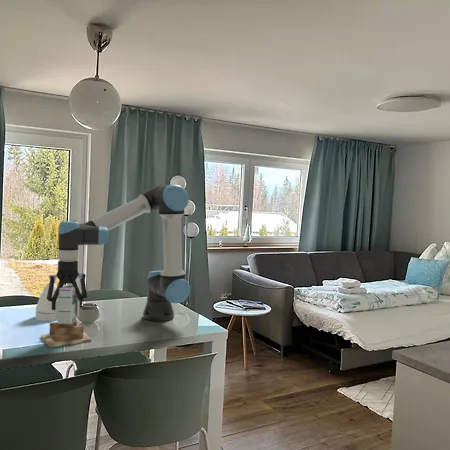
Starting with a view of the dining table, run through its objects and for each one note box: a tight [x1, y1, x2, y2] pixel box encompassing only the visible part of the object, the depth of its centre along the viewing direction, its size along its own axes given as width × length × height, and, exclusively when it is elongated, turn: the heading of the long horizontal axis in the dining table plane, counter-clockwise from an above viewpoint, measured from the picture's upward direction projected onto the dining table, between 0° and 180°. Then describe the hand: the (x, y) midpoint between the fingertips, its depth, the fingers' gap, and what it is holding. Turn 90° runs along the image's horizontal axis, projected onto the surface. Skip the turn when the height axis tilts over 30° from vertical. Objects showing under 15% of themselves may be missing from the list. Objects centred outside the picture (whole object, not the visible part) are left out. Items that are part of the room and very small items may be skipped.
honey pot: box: [35, 278, 58, 322], centre depth 205 cm, size 13×13×18 cm
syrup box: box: [56, 284, 77, 324], centre depth 173 cm, size 6×6×14 cm
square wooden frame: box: [40, 319, 93, 348], centre depth 174 cm, size 16×14×7 cm
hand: (66, 316), depth 174 cm, fingers closed on syrup box, 8 cm apart
